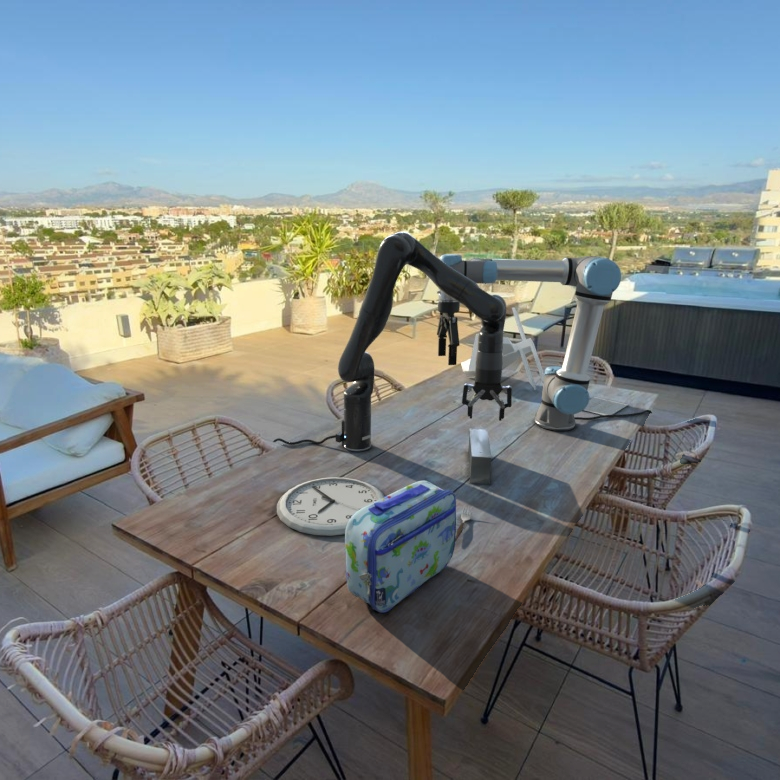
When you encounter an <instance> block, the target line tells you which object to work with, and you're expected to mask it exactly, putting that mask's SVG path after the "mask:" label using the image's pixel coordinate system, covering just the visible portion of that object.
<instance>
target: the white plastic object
mask: <svg viewBox="0 0 780 780" xmlns="http://www.w3.org/2000/svg"><path fill="white" fill-rule="evenodd" d="M511 310H512V314H513V317H514V320H515V322H516V326H517V328H518V333H519V335H520V338H521V341H519V342H516V343H513V342H512V341H511V339H510V338H509V337H508V336H507V337H503V349H502V355H503V365H502V371H504V370H505V369H507V367H509V366H510V365H512V364H513V363H515V362H516V361H517V360H519V359H520V358H521V361H522V364H523V367H524V370H525V373H526V377H527V379H528V382H529V384H530V386H531V387H532V389H534V391H536V384H535V380H534V377H533V373H532V372H531V371H532V370H531V368H530V365H529V362H528V358H527V354H529V353H532V356H533V357H534V358H533V359H534V362H535V365H536V368H537V371H538V374H539V377H540V381H541V382H542V383H543V382H544V373H545V371H544V369H543V366H542V364H541V363H542V362H541V360H540V356H539V355H538V351H537V349H536V346H535V345H536V344H535V343H534V341H533V339H532V338H531V337H529V338H527V337H526V334H525V331H524V327H523V325H522V322H521V318H520V315H519V313H518V311H517V309H516V307H515V306H513V307H511ZM478 336H479V333H475V337H474V342H473V346H472V351H471V356H470V358H468V359H467V360H465V361H462V362H461V363H460V364H461V371H462V372H463V374H464V376H465V377H466V378H470V377H471V378H472V377H475V369H476V356H477V350H478Z"/></svg>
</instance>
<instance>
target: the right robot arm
mask: <svg viewBox="0 0 780 780" xmlns="http://www.w3.org/2000/svg"><path fill="white" fill-rule="evenodd" d="M462 258H463V257H462V255H461V254H454V253H453V254H445V253H444V254H441V255H440V257H439V259H440V260H441V261H443V262H444V263H446V264H447V265H448V266H450V267H451V268H453V269H455V270H456V271H458V272H459V273H461V274H463V275H464V276H466V277H467V278H469V279H471V280H472V281H474V282H475V283H476V284H485V285H487V284H494V283H496V281H505V282H506V281H507V282H509V281H510V282H537V283H538V282H540V283H560V284H561V285H562V286H571V287H576V288H575V293H574V297H575V299H576V300H577V304H576V307H575V312H574V317H573V321H572V325H571V328H570V333H569V337H568V342H567V345H566V350H565V355H564V356H563V357H564V358H563V362H562V366H554V365H553V366H547V367H545V369H544V382H542V394H541V402H540V405H539V407H538V410H537V411H536V413H535V415H534V424H535V425H536V426H537V427H539V428H542V429H544V430H549V431H556V432H567V431H572V430H574V429H575V428H576V420H577V421H578V420H579V421H590V420H591V421H592V420H597V419H598V420H599V419H602V418H625V417H634V416H640V415H645V414H646V413H649V414H653V412H652V410H650V409H645V410H642V411H639V412H633V413H624V414H623V413H622V414H613V415H597V416H592V417H582V416H581V417H580V416H575V415H576V414H579V413H581V412H583V411H584V409H585V408H586V407H587V405H588V403H589V400H590V393H589V390H588V389H589V385H590V382H591V377H590V375H589V374H588V370H589V367H590V363H591V359H592V355H593V351H594V347H595V344H596V340H597V336H598V332H599V327H600V324H601V320H602V316H603V313H604V312H603V311H604V309H605V306H607V304H609V303H610V302H611V301H612V297H613V293H614V292H615V291H617V289H618V288H619V286H620V284H621V281H622V272H621V269H620V267H619V265H618V264H617V263H616V262H615V261H614V260H612V259H610V258H608V257H601V256H595V255H589V256H582V257H581V256H579V257H564V258H563V259H561V260H557V259H556V260H554V259H553V260H552V259H514V258H513V259H511V258H509V259H507V258H480V257H473V258H471V259H470V260H463V259H462ZM436 294H437V296H438V297H437V299H438V302H437V312H438V313H439V319H438V325H437V331H436V336H437V338H438V345H437V357H446V356H447V348H448V362H447V364H448V366H456V365H457V360H458V358H457V356H458V347H460V336H459V334H460V333H459V324H458V317H457V316H455V314H457V313H459V312H460V307H461V303H459V302H458V301H456V300H454V299H453V298H451V297H450V296H448V295H446V294H445V293H444V292H442V291H441V290H440V289H439V288H438V290H437V291H436ZM447 339H448V342H449V344H448V345H447Z"/></svg>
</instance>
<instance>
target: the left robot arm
mask: <svg viewBox="0 0 780 780" xmlns="http://www.w3.org/2000/svg"><path fill="white" fill-rule="evenodd" d="M407 265H408V266H410V267H412V268H414V269H417V270H418V271H420V272H421V273H423V274H424V275H425V276H426V277H428V278H429V279H430V280H431V282H432V283H433V284H434V285H435V286H436V287H437V288H438V290H439V289H440V290H441V291H442V292H444V293H445V294H446V295H448V296H450V297H451V298H453V299H454V300H456V301H458V302H459V303H460V305H462V306H464V307H465V308H466V309H467V310H468V311H470V312H471V313H472V314H473V315H475V316H476V317H478V318H479V319H480V321H481V322H480V323H481V324H480V330H479V332H478V334H479V336H478V350H477V356H476V369H475V376H474V383H473V384H470V383H468V382H464V384H463V389H462V397H461V404H462V405H466V406H467V417H468V418H469V419H471V420H472V419H473V409H474V407H473V406H474V404H475V403H477V401H478V400H481V401H493V400H494V401H495V403H497V405H498V406H499V408H498V409H499V410H498V411H499V412H498V421H499V422H501V421H502V420H503V419H504V418H505V410H506V409H507V408H512V403H513V401H512V397H513V392H512V391H513V390H512V389H513V388H512V385H507V386H506V385H505V386H504V385H502V376H503V375H502V374H503V370H502V365H503V355H502V349H503V338H504V329H505V325H506V317H507V303H506V300H505V299H504V297H502V296H501V295H499V294H490V293H488V292H487V291H485V290H484V289H482V288H481V287H480V286H479V285H478V283H475V282H474V281H472V280H471V279H469V278H467V277H466V276H464V275H463V274H461V273H459V272H458V271H456V270H455V269H453V268H451V267H450V266H448V265H447V264H446V263H444V262H443V261H441V260H440V257H437V255H435V254H434V253H433V252H431V250H429V249H427V248H426V247H425V246H424V245H423V244H422V243H421V242H420V241H419V240H418V239H416V237H414V236H413V235H411V234H410V233H409V232H406V231H398V232H396V233H393V234H391V235H389V236H387V237H385V238H384V239H383V240H382V242H381V243H380V244H379V247H378V251H377V255H376V258H375V264H374V269H373V271H372V272H373V273H372V277H371V279H370V282H369V284H368V287H367V288H366V291H365V295H364V298H363V300H362V303H361V305H360V308H359V310H358V314H357V317H356V320H355V323H354V326H353V329H352V331H351V334H350V337H349V339H348V341H347V343H346V345H345V348H343V351H342V353H341V356H340V358H339V361H338V364H337V365H338V366H337V371H338V376H339V378H340V379H341V381H343V382H345V383H351V384H350V385H349V387H348V388H346V389H345V390H344V392H343V419H342V420H341V431H338V432H337V433H335V434H333V435H330V436H329V435H328V436H326V437H324V438H323V439H321V441H316V440H313V439H301V440H297V441H287V440H285V439H282V438H280V437H279V438H275V439H274V440H273V441H272V442H273V443H276V442H278V441H279V442H282V443H284V444H286V445H290V446H295V445H298V444H302V443H312V444H314V445H322V444H323V443H325V442H326V441H328V440H330V439H335V442H336V443H339V444H340V443H341V447H343V448H344V449H345V450H347V451H350V452H356V453H357V452H364V451H367V450H370V449H371V448H372V395H373V392H374V387H375V386H374V385H375V362H374V359H373V356H372V355H371V354H370V353H369V352H367V350H368V348H369V347H370V346H371V345H372V344H373V343H374V341H376V339H378V337H379V336H380V335H381V334H382V332H384V330H385V328H386V326H387V324H388V321H389V319H390V316H391V314H392V310H393V306H394V305H393V304H394V290H395V286H396V284H397V281H398V279H399V277H400V276H401V275H400V274H401V273H402V270H403V269H404V267H405V266H407ZM472 389H473V392H474V394H473V396H471V398H470V399H467V398H468V393H470V392H471V390H472ZM502 392H504V394H505V395H506V401H504V400H503V399H502V397H501V396H500V394H501V393H502ZM289 442H290V443H289Z"/></svg>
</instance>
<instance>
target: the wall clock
mask: <svg viewBox="0 0 780 780" xmlns="http://www.w3.org/2000/svg"><path fill="white" fill-rule="evenodd" d="M384 497H386V495H385V494H384V493H383V492H382V491H381V490H380V489H379V488H377V487H376V486H374V485H372V484H371V483H369V482H365V481H362V480H359V479H355V478H349V477H338V476H337V477H335V476H333V477H332V476H331V477H322V478H317V479H312V480H307V481H305V482H302V483H299V484H297V485H295V486H293V487H292V488H290V489H288V490H287V491H286V492H285V493H284V494H283V495H281V496H280V498H279V499H278V502H277V503H276V515H277V517H278V518H279V520H280V521H281V522H282V523H283V524H285V525H286V526H287V527H288V528H290V529H293V530H295V531H297V532H299V533H303V534H308V535H312V536H327V537H328V536H329V537H331V536H332V537H333V536H342V535H345V531H346V527H347V524H348V522H349V520H350V518H351V517H352V515H353V514H354V513H355V512H357V511H358V510H360V509H362V508H364V507H366V506H368V505H370V504H372V503H374V502H376V501H378V500H380V499H382V498H384Z"/></svg>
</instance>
